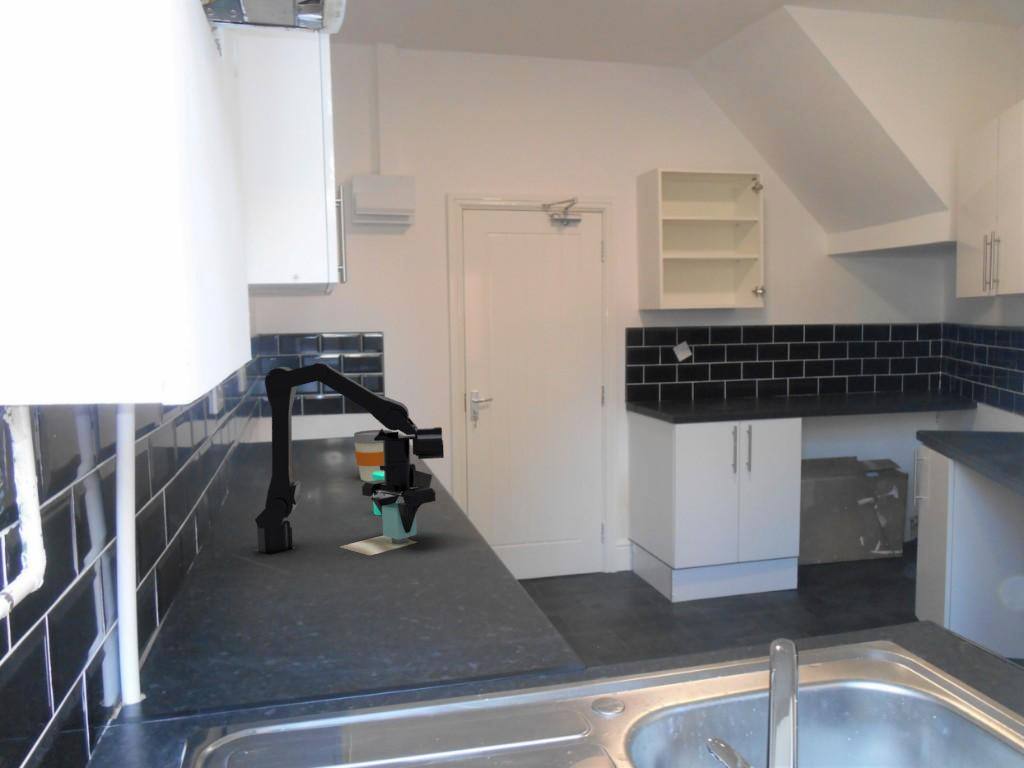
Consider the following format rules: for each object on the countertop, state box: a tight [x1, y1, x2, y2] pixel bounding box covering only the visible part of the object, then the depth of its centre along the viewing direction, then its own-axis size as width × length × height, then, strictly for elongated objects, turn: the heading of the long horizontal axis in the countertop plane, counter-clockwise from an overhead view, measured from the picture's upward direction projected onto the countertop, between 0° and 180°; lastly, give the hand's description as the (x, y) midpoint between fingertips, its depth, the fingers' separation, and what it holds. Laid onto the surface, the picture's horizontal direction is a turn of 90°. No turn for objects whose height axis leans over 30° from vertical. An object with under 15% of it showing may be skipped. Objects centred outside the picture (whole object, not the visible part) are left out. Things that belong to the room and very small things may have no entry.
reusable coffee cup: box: [353, 429, 393, 482], centre depth 259 cm, size 13×13×15 cm
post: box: [392, 537, 410, 545], centre depth 177 cm, size 3×3×7 cm
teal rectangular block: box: [381, 501, 418, 539], centre depth 177 cm, size 5×5×7 cm
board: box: [339, 535, 418, 556], centre depth 176 cm, size 13×11×1 cm
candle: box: [372, 472, 398, 516], centre depth 209 cm, size 6×6×12 cm
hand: (399, 530), depth 177 cm, fingers closed on teal rectangular block, 5 cm apart
